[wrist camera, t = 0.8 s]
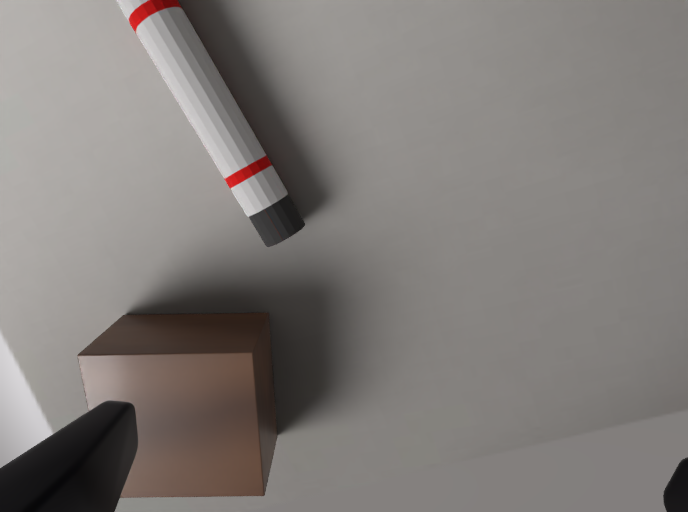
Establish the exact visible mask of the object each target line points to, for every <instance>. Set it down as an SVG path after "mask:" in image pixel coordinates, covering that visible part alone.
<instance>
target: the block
mask: <svg viewBox="0 0 688 512" xmlns="http://www.w3.org/2000/svg"><path fill="white" fill-rule="evenodd" d="M78 360H79V365H80V370H81V375H82V380H83V385H84V390H85V395H86V400H87V405H88V410H89V411H90V410H92V409H93V408H95V407H96V406H98V405H99V404H101V403H103V402H105V401H109V400H112V401H122V402H130V403H132V404H133V405H134V407H135V412H136V423H137V433H138V448H137V452H136V456H135V459H134V461H133V464H132V467H131V469H130V472H129V474H128V477H127V480H126V482H125V485H124V488H123V490H122V493H121V496H120V498H125V497H211V496H264V495H265V491H266V486H267V482H268V477H269V473H270V468H271V463H272V459H273V454H274V450H275V445H276V440H277V424H276V409H275V395H274V381H273V366H272V352H271V338H270V323H269V313H214V314H149V315H123V316H122V317H121V318H119V319H118V320H117V321H116V322H115V323H114V324H113V325H111V326H110V327H109V328H108V329H107V330H106V331H105V332H103V333H102V334H101V335H100V336H99V337H98V338H96V339H95V340H94V341H93V342H92V343H91V344H90V345H88V346H87V347H86V348H85V349H84V350H83V351H82V352H80V353H79V354H78Z"/></svg>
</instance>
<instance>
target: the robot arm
mask: <svg viewBox="0 0 688 512" xmlns="http://www.w3.org/2000/svg"><path fill="white" fill-rule="evenodd" d="M137 448H138V433H137V423H136V412H135V407H134V405H133V404H132V403H130V402H122V401H112V400H109V401H105V402H103V403H101V404H99V405H98V406H96V407H95V408H93V409H92V410H90V411H89V412H87V413H85V414H84V415H82V416H81V417H79V418H78V419H76V420H75V421H73V422H71V423H70V424H68V425H67V426H65V427H64V428H62V429H61V430H59V431H58V432H56V433H54V434H53V435H51V436H50V437H48V438H47V439H45V440H44V441H42V442H41V443H39V444H37V445H36V446H34V447H33V448H31V449H30V450H28V451H27V452H25V453H23V454H22V455H20V456H19V457H17V458H16V459H14V460H12V461H11V462H9V463H8V464H6V465H5V466H3V467H2V468H0V512H114V511H115V509H116V506H117V503H118V501H119V498H120V496H121V493H122V490H123V488H124V485H125V482H126V480H127V477H128V474H129V472H130V469H131V467H132V464H133V461H134V459H135V456H136V452H137ZM663 496H664V505H665V508H666V510H667V512H688V458H685V459H683V460H682V461H681V462H680V463H679V465H678V467H677V469H676V471H675V472H674V474H673V476H672V478H671V480H670V481H669V483H668V485H667V487H666V488H665V491H664V495H663Z"/></svg>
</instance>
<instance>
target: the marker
mask: <svg viewBox="0 0 688 512" xmlns="http://www.w3.org/2000/svg"><path fill="white" fill-rule="evenodd" d="M116 1H117V3H118V5H119V6H120V8H121V10H122V11H123V13H124V14H125V16H126V18H127V19H128V21H129V23H130V24H131V26H132V28H133V29H134V31H135V33H136V34H137V36H138V37H139V39H140V41H141V42H142V44H143V46H144V47H145V49H146V51H147V52H148V54H149V56H150V57H151V59H152V61H153V62H154V64H155V65H156V67H157V69H158V70H159V72H160V74H161V75H162V77H163V79H164V80H165V82H166V84H167V85H168V87H169V89H170V90H171V92H172V93H173V95H174V97H175V98H176V100H177V102H178V103H179V105H180V107H181V108H182V110H183V112H184V113H185V115H186V116H187V118H188V120H189V121H190V123H191V125H192V126H193V128H194V130H195V131H196V133H197V135H198V136H199V138H200V140H201V141H202V143H203V144H204V146H205V148H206V149H207V151H208V153H209V154H210V156H211V158H212V159H213V161H214V163H215V164H216V166H217V168H218V169H219V171H220V172H221V174H222V176H223V177H224V179H225V181H226V182H227V184H228V186H229V187H230V189H231V191H232V192H233V194H234V196H235V197H236V199H237V200H238V202H239V204H240V205H241V207H242V209H243V210H244V212H245V214H246V215H247V217H249V218H250V220H251V222H252V223H253V225H254V227H255V228H256V230H257V231H258V233H259V235H260V236H261V238H262V240H263V241H264V243H265V245H266V246H267V247H270V246H273V245H275V244H278V243H280V242H282V241H284V240H285V239H287V238H289V237H291V236H292V235H294V234H295V233H297V232H298V231H299V230H301V229H302V228H303V227H304V226H305V223H304V222H303V220H302V218H301V216H300V215H299V213H298V211H297V209H296V208H295V206H294V204H293V202H292V201H291V199H290V197H289V195H288V192H287V190H286V188H285V187H284V185H283V183H282V181H281V180H280V178H279V176H278V174H277V173H276V171H275V169H274V167H273V166H272V164H271V162H270V160H269V159H268V157H267V155H266V153H265V152H264V150H263V148H262V147H261V145H260V143H259V141H258V140H257V138H256V136H255V134H254V133H253V131H252V129H251V127H250V126H249V124H248V122H247V120H246V119H245V117H244V115H243V113H242V112H241V110H240V108H239V106H238V105H237V103H236V101H235V100H234V98H233V96H232V94H231V93H230V91H229V89H228V87H227V86H226V84H225V82H224V80H223V79H222V77H221V75H220V73H219V72H218V70H217V68H216V66H215V65H214V63H213V61H212V59H211V58H210V56H209V54H208V53H207V51H206V49H205V47H204V46H203V44H202V42H201V40H200V39H199V37H198V35H197V33H196V32H195V30H194V28H193V26H192V25H191V23H190V21H189V19H188V18H187V16H186V14H185V12H184V11H183V9H182V7H181V5H180V4H179V2H178V0H116Z"/></svg>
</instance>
